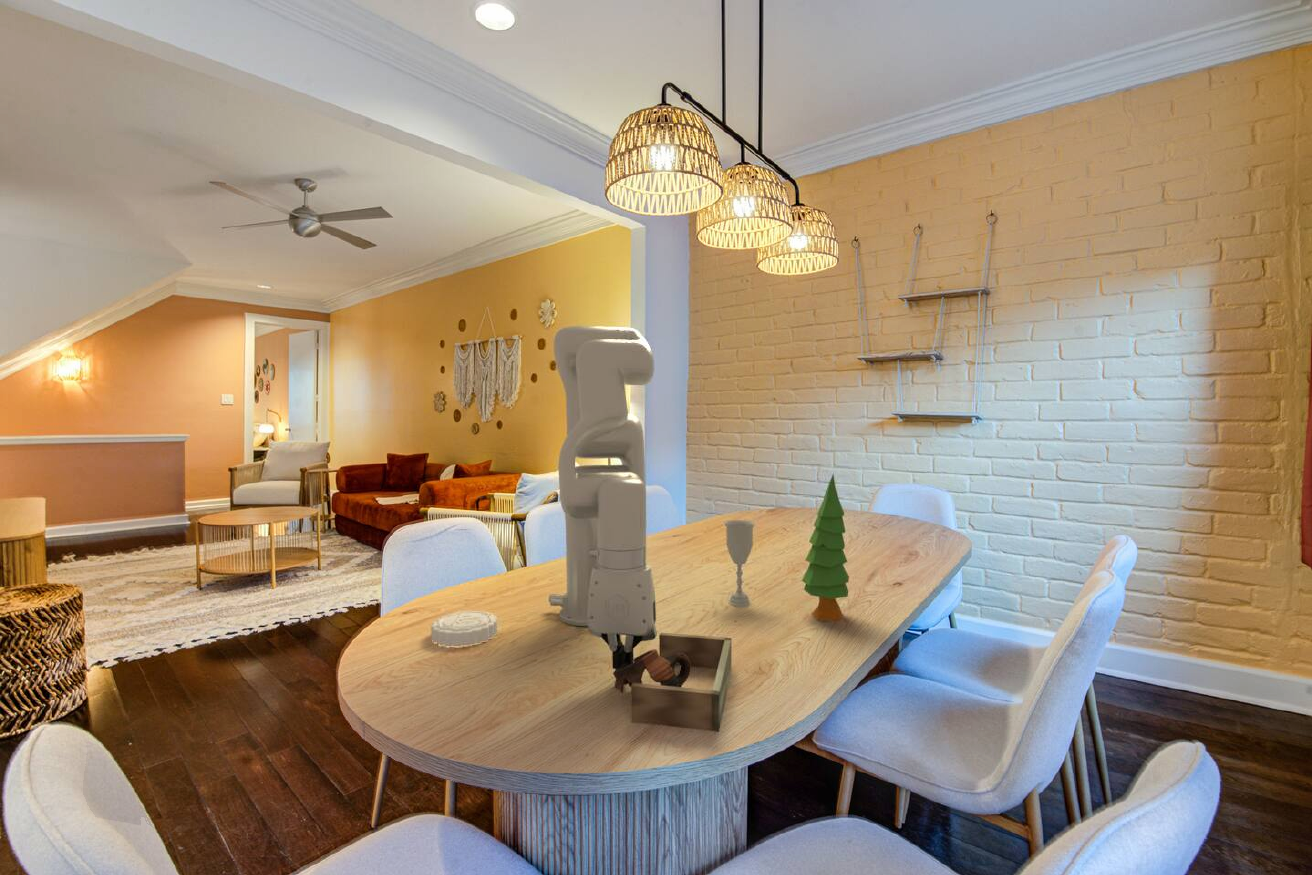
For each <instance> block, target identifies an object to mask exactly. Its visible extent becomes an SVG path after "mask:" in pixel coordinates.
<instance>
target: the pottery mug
mask: <svg viewBox="0 0 1312 875" xmlns="http://www.w3.org/2000/svg"><path fill="white" fill-rule="evenodd" d="M677 662H679V663H680V665H681V666H680V669H679V673H678V674H676V670H675V668H676V666H675V665H676V663H677ZM691 669H692V667H691V665H690V660H689V659H688V657H687V656H686V655H685V654H683V653H675V654H673V655H671V656H669V657H666V658H663V657H660V656H659V653H658V651H657V649H654V648H653V649H651V650H648V651H646V652H644V653H642V654H640V655H638V656H637V657H633V663H632V664H630V665H628V663H625V664H623V665H622V666H620V667H619V668H617V669H616V670H615V669H614V671H613V672H612V674H613V676H614V678H615V681H614V689H617V690H618V691H619V692H620V694H623V692H624V687H625V685H628V686H629V687H630V688H631V685H632V684H633V683H641V684H643V681H642V678H643V675H644V672H645V670H646V671H647V672H648V675H649V677H650V679H651V680H652V681H654V682H655V683H660V684H659V685H662V686H672V687H682V686H683V685H684V683H685V682H687V680H688V678H689V676H690V674H691Z"/></svg>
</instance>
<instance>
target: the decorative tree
mask: <svg viewBox="0 0 1312 875" xmlns="http://www.w3.org/2000/svg"><path fill="white" fill-rule="evenodd" d="M830 477H831V478H830V480H829V482H828V485H827V488H826V491H825V494H824V497H823V500H822V503H821V505H820V507H819V508H818V509H819V510H818V511H817V513H816V515H817V516H816V519H815V521H814V523H813V526H814V527H815V528H814V530H813V532H812V535H811V537H810V539H809V541H808V542H809V543H810V544H812V546H811V548H810V549H809V552H808V554H807V556H806V558H805V560H804V561H805V562H807V563H809V565H808V566H807V568H806V571H805V573H804V575H803V577H802V580H801V582H803V583H805V586H804V588H803V590H804V592H806V593H808V594H809V595H810V596H813V597H817V598H818V603H817V604H818V605H817V607H816V608H815V609H814V610H813V611H812V612H811V616H812V617H813V618H815V619H816V620H817V621H823V620H824V621H823V622H841V619H842V618H843V616H844V615H843V612H842V610H841V607H840V605H839V603H838V602H837V599H839V598H841V599H842V598H848V597H849V589H848V585H847V583H849V581H850V580H849V579H850V576H849V574H848V572H847V570H846V568H845V564H846V563H848V559H847V556H846V555H845V552H844V549H846V547H845V546H846V545H845V540H844V535H843V534H845V533H846V527H845V526H846V525H845V522H844V517H843V516H845V511H844V508H843V507H842V503H841V501H840V499H839V496H838V491H837V488H836V483H835V474H834V473H832V476H830Z"/></svg>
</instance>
